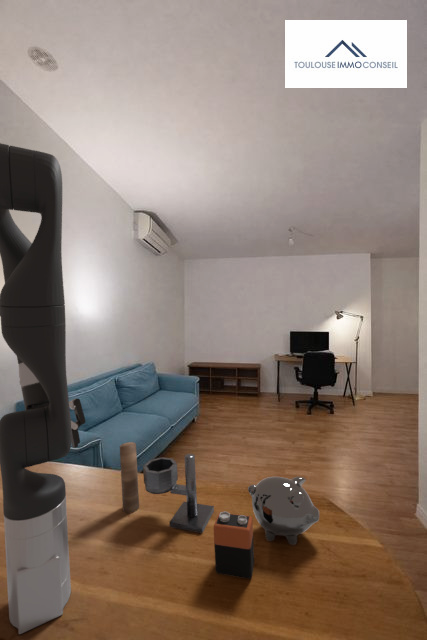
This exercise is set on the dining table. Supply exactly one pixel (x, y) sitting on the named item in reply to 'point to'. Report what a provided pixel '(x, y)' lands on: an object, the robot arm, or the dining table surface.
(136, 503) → the rail post
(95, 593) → the dining table surface
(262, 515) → the piggy bank
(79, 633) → the dining table surface
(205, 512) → the cup bracket
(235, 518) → the battery
